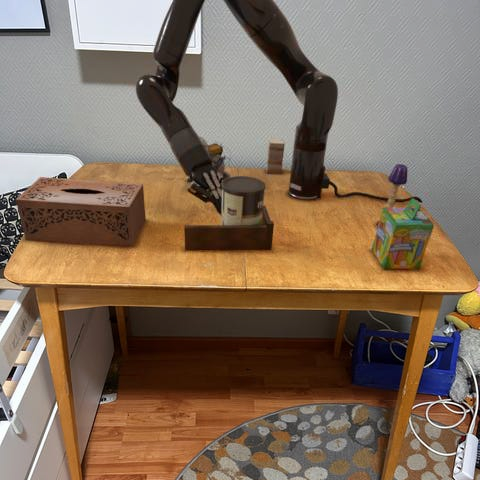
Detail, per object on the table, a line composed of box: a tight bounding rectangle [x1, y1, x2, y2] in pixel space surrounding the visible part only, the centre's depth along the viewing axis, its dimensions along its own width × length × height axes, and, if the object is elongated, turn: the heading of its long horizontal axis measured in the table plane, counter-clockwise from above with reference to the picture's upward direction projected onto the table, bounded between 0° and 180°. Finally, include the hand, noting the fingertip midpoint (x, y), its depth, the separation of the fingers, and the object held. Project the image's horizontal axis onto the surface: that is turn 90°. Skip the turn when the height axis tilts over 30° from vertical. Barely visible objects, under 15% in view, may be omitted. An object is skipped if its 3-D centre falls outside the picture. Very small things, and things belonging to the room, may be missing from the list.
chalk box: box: [371, 198, 435, 270], centre depth 107 cm, size 9×9×15 cm
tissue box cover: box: [15, 176, 147, 248], centre depth 114 cm, size 26×14×10 cm, turn 88°
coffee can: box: [220, 175, 267, 225], centre depth 113 cm, size 10×10×14 cm
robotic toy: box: [186, 136, 232, 182], centre depth 141 cm, size 13×17×15 cm
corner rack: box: [183, 205, 275, 252], centre depth 115 cm, size 21×13×7 cm, turn 96°
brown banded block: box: [265, 138, 286, 175], centre depth 154 cm, size 5×4×10 cm
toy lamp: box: [376, 163, 408, 228], centre depth 122 cm, size 5×5×17 cm
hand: (225, 213), depth 117 cm, fingers closed
